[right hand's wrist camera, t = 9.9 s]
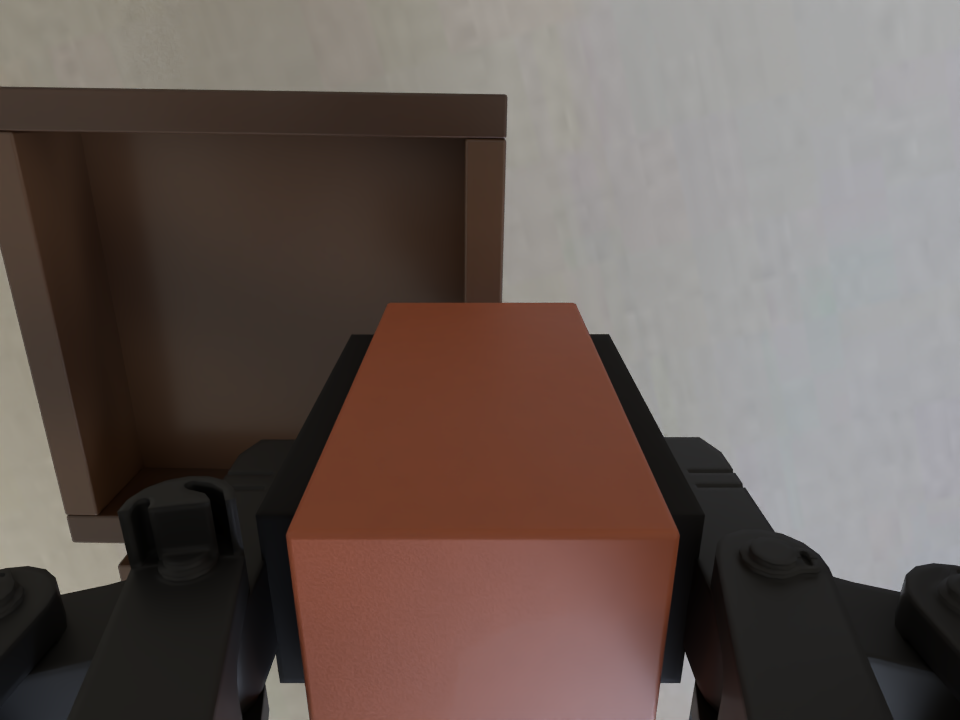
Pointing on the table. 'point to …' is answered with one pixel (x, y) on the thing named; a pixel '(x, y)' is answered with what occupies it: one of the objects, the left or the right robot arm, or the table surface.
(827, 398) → the table surface
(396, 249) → the walnut tray
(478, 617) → the terracotta block
